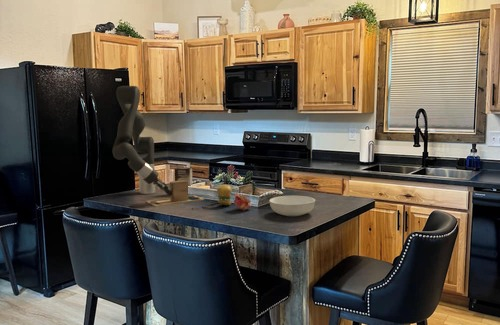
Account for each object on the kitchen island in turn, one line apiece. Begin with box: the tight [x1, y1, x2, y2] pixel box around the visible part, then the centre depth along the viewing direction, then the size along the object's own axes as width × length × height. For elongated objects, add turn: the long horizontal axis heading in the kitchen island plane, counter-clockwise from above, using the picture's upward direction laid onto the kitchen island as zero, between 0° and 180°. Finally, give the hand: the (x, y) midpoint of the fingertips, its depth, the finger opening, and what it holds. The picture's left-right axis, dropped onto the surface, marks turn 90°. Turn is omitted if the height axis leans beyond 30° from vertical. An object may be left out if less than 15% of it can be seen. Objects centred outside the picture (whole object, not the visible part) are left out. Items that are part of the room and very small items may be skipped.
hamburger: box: [216, 183, 233, 206], centre depth 228 cm, size 8×7×12 cm
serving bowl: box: [269, 195, 316, 217], centre depth 208 cm, size 21×21×7 cm
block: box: [169, 180, 189, 202], centre depth 236 cm, size 5×8×10 cm, turn 121°
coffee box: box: [174, 166, 193, 186], centre depth 257 cm, size 9×6×16 cm
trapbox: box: [145, 194, 206, 207], centre depth 236 cm, size 14×27×2 cm, turn 121°
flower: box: [232, 193, 253, 212], centre depth 219 cm, size 10×9×8 cm
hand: (170, 194), depth 234 cm, fingers closed
